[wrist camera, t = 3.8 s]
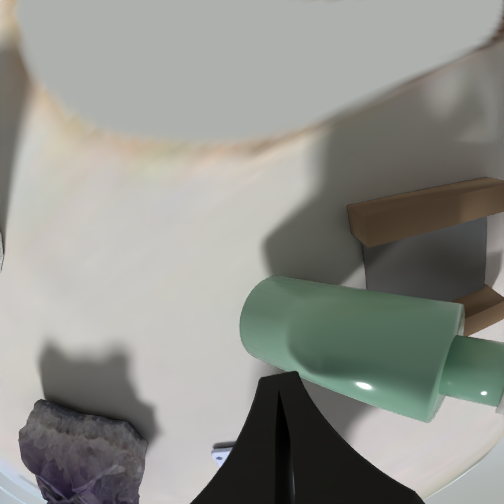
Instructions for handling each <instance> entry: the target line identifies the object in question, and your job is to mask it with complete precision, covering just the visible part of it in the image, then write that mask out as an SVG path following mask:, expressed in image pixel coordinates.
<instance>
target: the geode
mask: <svg viewBox="0 0 504 504" xmlns="http://www.w3.org/2000/svg"><path fill="white" fill-rule="evenodd" d="M18 441H19V446H20V452H21V459H22V461H23V463H24V465H25V466H26V467H27V468H28V470H29V471H31V472H32V473H34V474H35V476H36V480H37V483H38V487H39V488H40V490H41V493H42V495H43V498H44V499H45V500H47V501H48V503H47V504H139V497H140V496H139V494H138V490H139V486H140V484H141V481H142V478H143V474H144V470H145V451H146V447H147V442H146V440H145V439H144V438H142V437H140V436H139V435H138V433H137V432H136V430H135V428H134V427H133V426H132V424H131V423H130V422H126V421H120V420H112V419H109V418H106V417H101V416H93V415H85V414H81V413H78V412H76V411H74V410H70V409H66V408H64V407H62V406H60V405H58V404H56V403H54V402H51V401H47V400H43V399H40V400H38V401H37V402H36V403H35V404H34V409H33V410H32V411H31V413H30V415H29V417H28V420H27V425H25V426H24V427H23V428H22V429H20V431H19V439H18Z"/></svg>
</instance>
